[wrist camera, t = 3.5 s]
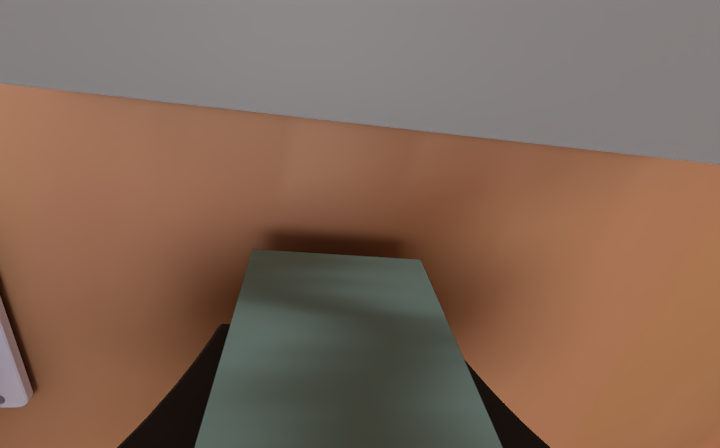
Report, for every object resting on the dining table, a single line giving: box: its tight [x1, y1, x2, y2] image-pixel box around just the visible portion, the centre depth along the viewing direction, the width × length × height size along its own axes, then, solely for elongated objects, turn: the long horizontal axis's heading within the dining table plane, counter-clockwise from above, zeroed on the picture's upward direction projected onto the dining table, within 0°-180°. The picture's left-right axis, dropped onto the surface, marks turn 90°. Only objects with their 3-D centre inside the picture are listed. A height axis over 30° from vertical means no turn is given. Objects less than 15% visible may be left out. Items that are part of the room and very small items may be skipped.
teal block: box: [195, 249, 503, 448], centre depth 10 cm, size 5×5×6 cm
